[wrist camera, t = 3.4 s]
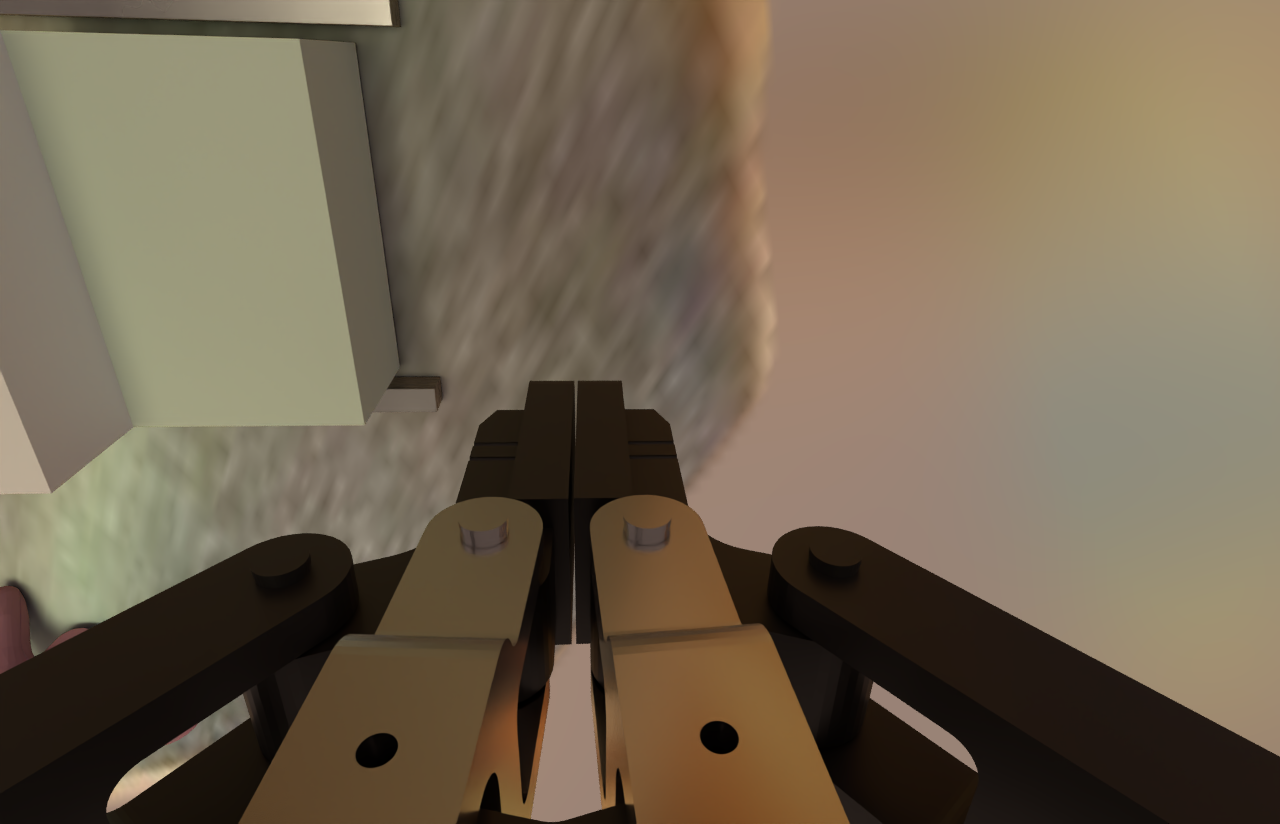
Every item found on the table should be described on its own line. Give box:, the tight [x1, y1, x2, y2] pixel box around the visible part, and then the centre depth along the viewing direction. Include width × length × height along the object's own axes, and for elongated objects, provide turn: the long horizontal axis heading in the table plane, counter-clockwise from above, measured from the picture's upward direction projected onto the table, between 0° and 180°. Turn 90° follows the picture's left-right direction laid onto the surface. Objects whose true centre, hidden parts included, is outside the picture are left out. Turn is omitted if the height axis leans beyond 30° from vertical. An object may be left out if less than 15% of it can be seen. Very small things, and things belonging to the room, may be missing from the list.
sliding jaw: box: [0, 30, 400, 494], centre depth 21 cm, size 12×9×9 cm
